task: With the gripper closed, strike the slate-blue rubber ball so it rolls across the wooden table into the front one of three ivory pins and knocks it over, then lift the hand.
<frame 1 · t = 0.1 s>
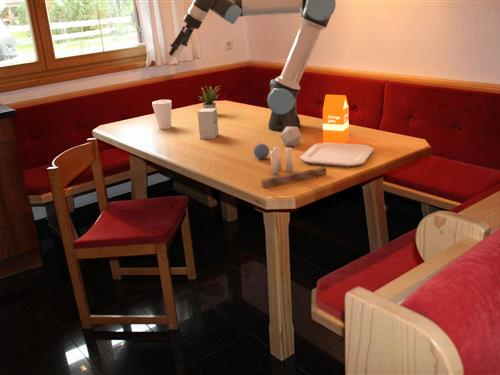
hand: (171, 59, 231), 36 cm above the table, tool tilted 35°, fingers open, 13 cm apart
pin 1: (274, 173, 190), on the table
foam cup: (165, 127, 264), on the table
die: (291, 145, 222), on the table
orange juice: (335, 142, 223), on the table
front pin: (277, 169, 194), on the table
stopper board: (294, 180, 182), on the table
pin 2: (289, 170, 192), on the table
supplement box: (209, 137, 242), on the table
ball: (261, 151, 206), on the table
plate: (337, 158, 204), on the table
house plant: (212, 115, 283), on the table
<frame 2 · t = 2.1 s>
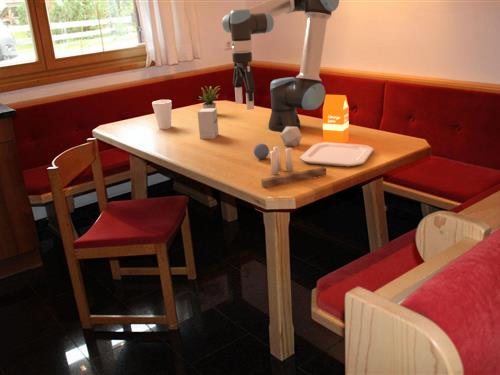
hand: (244, 106, 209), 19 cm above the table, tool pointing down, fingers open, 13 cm apart
nothing on the table moved.
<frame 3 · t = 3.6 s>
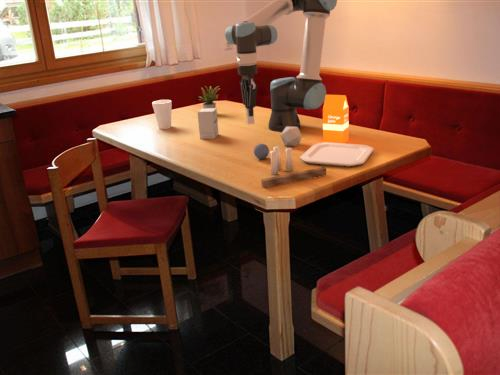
hand: (250, 123, 211), 12 cm above the table, tool pointing down, fingers closed
nothing on the table moved.
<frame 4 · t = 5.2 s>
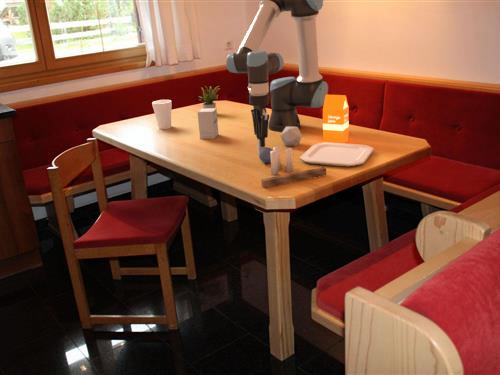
hand: (261, 153, 205), 3 cm above the table, tool pointing down, fingers closed
ball: (266, 155, 201), on the table
everything else where it was.
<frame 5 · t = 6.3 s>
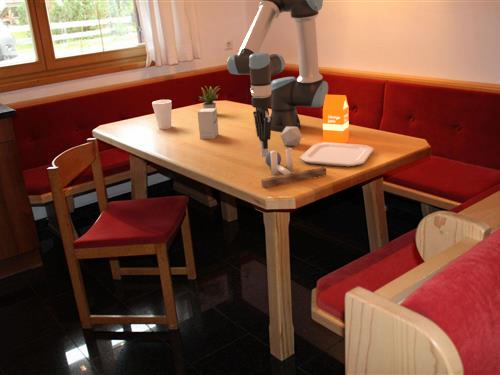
hand: (264, 155, 204), 2 cm above the table, tool pointing down, fingers closed
front pin: (279, 167, 193), point 1 cm above the table, tilted 90°
ball: (273, 159, 196), on the table
everything else where it was.
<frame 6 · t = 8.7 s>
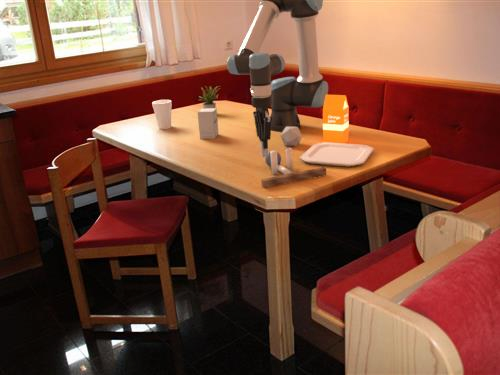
hand: (264, 155, 204), 2 cm above the table, tool pointing down, fingers closed
nothing on the table moved.
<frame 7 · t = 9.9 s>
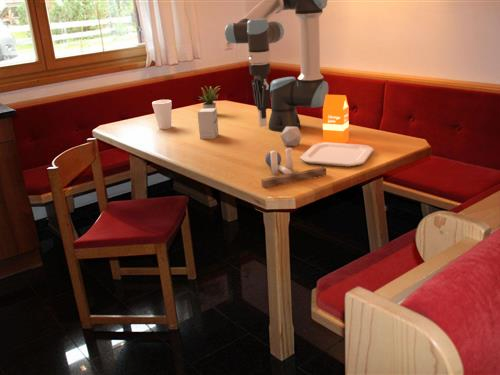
hand: (262, 125, 200), 14 cm above the table, tool pointing down, fingers closed
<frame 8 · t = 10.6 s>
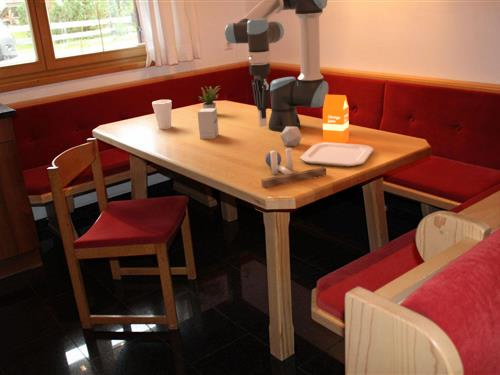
hand: (262, 125, 200), 14 cm above the table, tool pointing down, fingers closed
nothing on the table moved.
at the end: front pin tilted 90°; front pin never touched the robot; ball moved 11.7 cm from its start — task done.
